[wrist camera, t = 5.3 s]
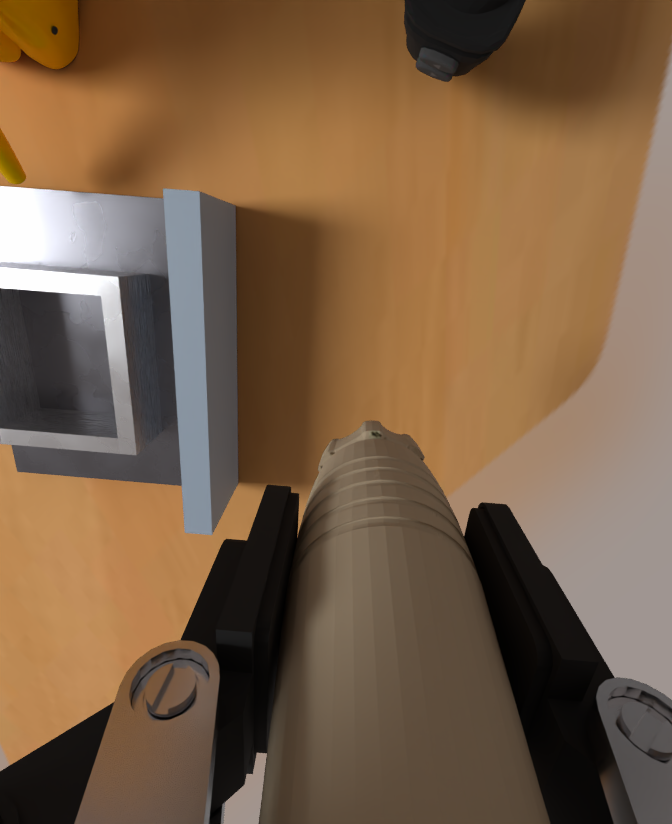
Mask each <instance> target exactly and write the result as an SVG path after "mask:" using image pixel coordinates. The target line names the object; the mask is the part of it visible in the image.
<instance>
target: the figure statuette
mask: <svg viewBox="0 0 672 824" xmlns="http://www.w3.org/2000/svg"><path fill="white" fill-rule="evenodd" d="M78 47H79V20H78V0H0V62H15V61H17V60H18V59H19V58H20V56H21V49H22V50H23V51H24V52H25V53H26V54H27V55H28V56H29V57H31V58H32V59H34V60H36V61H37V62H39V63H40V64H42V65H44V66H46V67H48V68H51V69H61V68H63V67H65V66H67V65H68V64H69V63H70V62H71V61H72V60H73V59H74V58H75V56H76V54H77V52H78ZM0 172H1V173H2V175H3V176H4V177H5V178H6V179H7V181H8V182H10V183H12V184H20V183H22V182H24V181H25V179H26V175H25V173H24V171H23V169H22V167H21V165H20V163H19V161H18V159H17V157H16V155H15V153H14V151H13V150H12V148H11V146H10V144H9V142H8V141H7V139H6V137H5V135H4V134H3V132H2V130H1V128H0Z"/></svg>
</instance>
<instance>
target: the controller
mask: <svg viewBox="0 0 672 824" xmlns="http://www.w3.org/2000/svg"><path fill="white" fill-rule="evenodd" d="M525 1H526V0H405V15H404V24H405V29H406V34H407V39H406V42H407V48H408V51H409V53H410V54H411V56H412V57H413V58H414V59H415V60H416V61H417V62H416V68H417V69H418V70H419V71H421V72H423V73H424V74H426V75H429V76H431V77H433V78H436V79H438V80H441V81H445V82H448V81H450V80H451V79H452V76H460V75H464V74H466V73H468V72H469V71H470V70H472V69H473V68H474V67H476V66H477V65H479V64H480V63H482V62H483V61H485V60H486V59H488V57H489V56H490V55H491V54H492V53H493V52H494V51H496V50H498V49H499V48H500V46H501V45H502V44H503V43H504V42H505V40H506V39H507V37H508V35H509V33H510V31H511V30H512V28H513V26H514V24H515V22H516V21H517V18H518V16H519V14H520V12H521V10H522V7H523V5H524V3H525Z"/></svg>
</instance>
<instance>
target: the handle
mask: <svg viewBox="0 0 672 824" xmlns="http://www.w3.org/2000/svg"><path fill="white" fill-rule="evenodd" d="M423 460H424V455H423V453H422V452H421V450H420V448H419V447H418V445H417V444H416V442H415V441H414V440H413V439H412V438H411V437H410V436H409V435H407V434H402V435H400V434H396V433H393V432H391V431H389V430H387V429H385V428H384V427H383V426H382V425H381V423H380V422H379V421H365V422H363V424H362V426H361V427H360V428H359V429H358V430H357V431H355V432H354V433H352V434H351V435H349V436H347V437H345V438H342V439H333V440H332V441H331V442H330V443H329V444H328V446H327V447H326V449H325V451H324V452H323V455H322V458H321V461H320V463H319V467H318V471H319V474H318V476H317V478H316V480H315V483H314V485H313V488H312V490H311V493H310V496H309V499H308V501H307V505H306V508H305V512H304V515H303V519H302V523H301V526H300V530H299V533H298V538H297V542H296V547H295V551H294V556H293V562H292V566H291V571H290V576H289V583H288V586H287V591H286V598H285V605H284V612H283V619H282V628H281V637H280V645H279V654H278V663H277V671H276V680H275V689H274V697H273V706H272V715H271V723H270V732H269V740H268V749H267V758H266V767H265V775H264V784H263V792H262V801H261V809H260V817H259V824H550V820H549V817H548V814H547V810H546V807H545V804H544V800H543V797H542V793H541V790H540V787H539V783H538V780H537V776H536V773H535V769H534V766H533V762H532V759H531V755H530V752H529V748H528V745H527V741H526V738H525V734H524V731H523V727H522V724H521V720H520V717H519V713H518V710H517V706H516V703H515V699H514V696H513V692H512V689H511V685H510V682H509V678H508V675H507V671H506V668H505V664H504V661H503V657H502V654H501V650H500V647H499V643H498V640H497V636H496V633H495V629H494V626H493V622H492V619H491V615H490V612H489V608H488V605H487V601H486V597H485V594H484V590H483V587H482V584H481V581H480V579H479V576H478V573H477V570H476V567H475V565H474V562H473V559H472V557H471V554H470V552H469V549H468V546H467V544H466V541H465V538H464V536H463V534H462V531H461V528H460V526H459V524H458V521H457V519H456V517H455V515H454V513H453V510H452V509H451V507H450V504H449V502H448V500H447V498H446V496H445V495H444V493H443V491H442V489H441V487H440V486H439V484H438V482H437V481H436V479H435V477H434V476H433V474H432V473H431V471H430V470H429V469H428V467H427V466H426V465H425V463H424V462H423Z"/></svg>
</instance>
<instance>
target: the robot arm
mask: <svg viewBox="0 0 672 824" xmlns="http://www.w3.org/2000/svg"><path fill="white" fill-rule="evenodd" d="M298 511H299V494H298V493H291V487H289V486H277V485H267V486H266V489H265V492H264V494H263V497H262V500H261V503H260V506H259V509H258V511H257V514H256V517H255V520H254V523H253V526H252V528H251V531H250V534H249V537H248V540H247V541H245V540H233V539H226V540H224V542H223V544H222V545H221V548H220V550H219V552H218V555H217V557H216V559H215V561H214V564H213V566H212V568H211V571H210V573H209V575H208V578H207V580H206V582H205V585H204V587H203V589H202V592H201V594H200V596H199V599H198V601H197V603H196V605H195V608H194V610H193V612H192V615H191V617H190V619H189V622H188V624H187V626H186V629H185V631H184V633H183V636H182V638H181V640H179V641H174V642H169V643H164V644H162V645H160V646H158V647H156V648H153V649H151V650H150V651H148V652H147V653H146V654H144V655H143V656H142V657H140V658H139V659H137V661H136V662H135V663H134V664H133V665H132V666H131V668H130V669H129V670H128V671H127V672H126V674H125V676H124V678H123V680H122V682H121V684H120V686H119V690H118V693H117V696H116V699H115V702H114V703H112V704H110V705H109V706H107V707H105V708H104V709H102V710H100V711H99V712H97V713H95V714H94V715H92V716H91V717H89V718H87V719H86V720H84V721H82V722H81V723H79V724H77V725H76V726H74V727H72V728H71V729H69V730H68V731H66V732H64V733H63V734H61V735H59V736H58V737H56V738H54V739H53V740H51V741H49V742H48V743H46V744H45V745H43V746H41V747H40V748H38V749H36V750H35V751H33V752H31V753H30V754H28V755H26V756H25V757H23V758H22V759H20V760H18V761H17V762H15V763H13V764H12V765H10V766H8V767H7V768H5V769H3V770H2V771H0V824H223V823H224V809H225V802H226V801H227V800H228V799H229V798H230V797H231V796H232V795H233V794H234V793H235V792H237V791H238V790H239V789H240V788H241V787H242V786H243V785H244V784H245V779H246V774H253V769H254V764H255V758H256V753H257V752H258V753H267V749H268V740H269V732H270V723H271V715H272V706H273V697H274V689H275V680H276V671H277V663H278V654H279V645H280V637H281V628H282V619H283V612H284V605H285V598H286V591H287V586H288V583H289V576H290V571H291V566H292V562H293V556H294V551H295V547H296V542H297V533H298ZM464 538H465V541H466V544H467V546H468V549H469V552H470V554H471V557H472V559H473V562H474V565H475V567H476V570H477V573H478V576H479V579H480V581H481V584H482V587H483V590H484V594H485V597H486V601H487V605H488V608H489V612H490V615H491V619H492V622H493V626H494V629H495V633H496V636H497V640H498V643H499V647H500V650H501V654H502V657H503V661H504V664H505V668H506V671H507V675H508V678H509V682H510V685H511V689H512V692H513V696H514V699H515V703H516V706H517V710H518V713H519V717H520V720H521V724H522V727H523V731H524V734H525V738H526V741H527V745H528V748H529V752H530V755H531V759H532V762H533V766H534V769H535V773H536V776H537V780H538V783H539V787H540V790H541V793H542V797H543V800H544V804H545V807H546V810H547V814H548V817H549V820H550V824H672V700H671V699H670V698H668V697H667V696H666V695H664V694H663V693H661V692H659V691H658V690H656V689H653V688H652V687H650V686H649V685H647V684H644V683H641V682H638V681H635V680H632V679H627V678H614V676H613V674H612V673H611V671H610V670H609V668H608V666H607V664H606V663H605V662H604V659H603V658H602V656H601V654H600V653H599V651H598V649H597V648H596V646H595V645H594V643H593V641H592V639H591V638H590V636H589V634H588V633H587V631H586V629H585V628H584V626H583V624H582V622H581V621H580V619H579V617H578V616H577V614H576V612H575V611H574V609H573V607H572V606H571V604H570V603H569V601H568V599H567V598H566V596H565V594H564V592H563V591H562V589H561V587H560V586H559V584H558V582H557V581H556V579H555V577H554V576H553V574H552V573H551V571H550V570H549V569H548V568H547V567H545V566H543V565H542V563H541V561H540V560H539V559H538V556H537V555H536V553H535V551H534V549H533V548H532V546H531V544H530V543H529V541H528V539H527V538H526V536H525V534H524V533H523V531H522V529H521V527H520V526H519V524H518V522H517V520H516V519H515V517H514V516H513V513H512V512H511V510H510V508H509V507H508V506H507V505H505V504H495V503H480V504H479V506H478V508H472V509H471V511H470V514H469V518H468V522H467V527H466V531H465V536H464Z"/></svg>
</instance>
